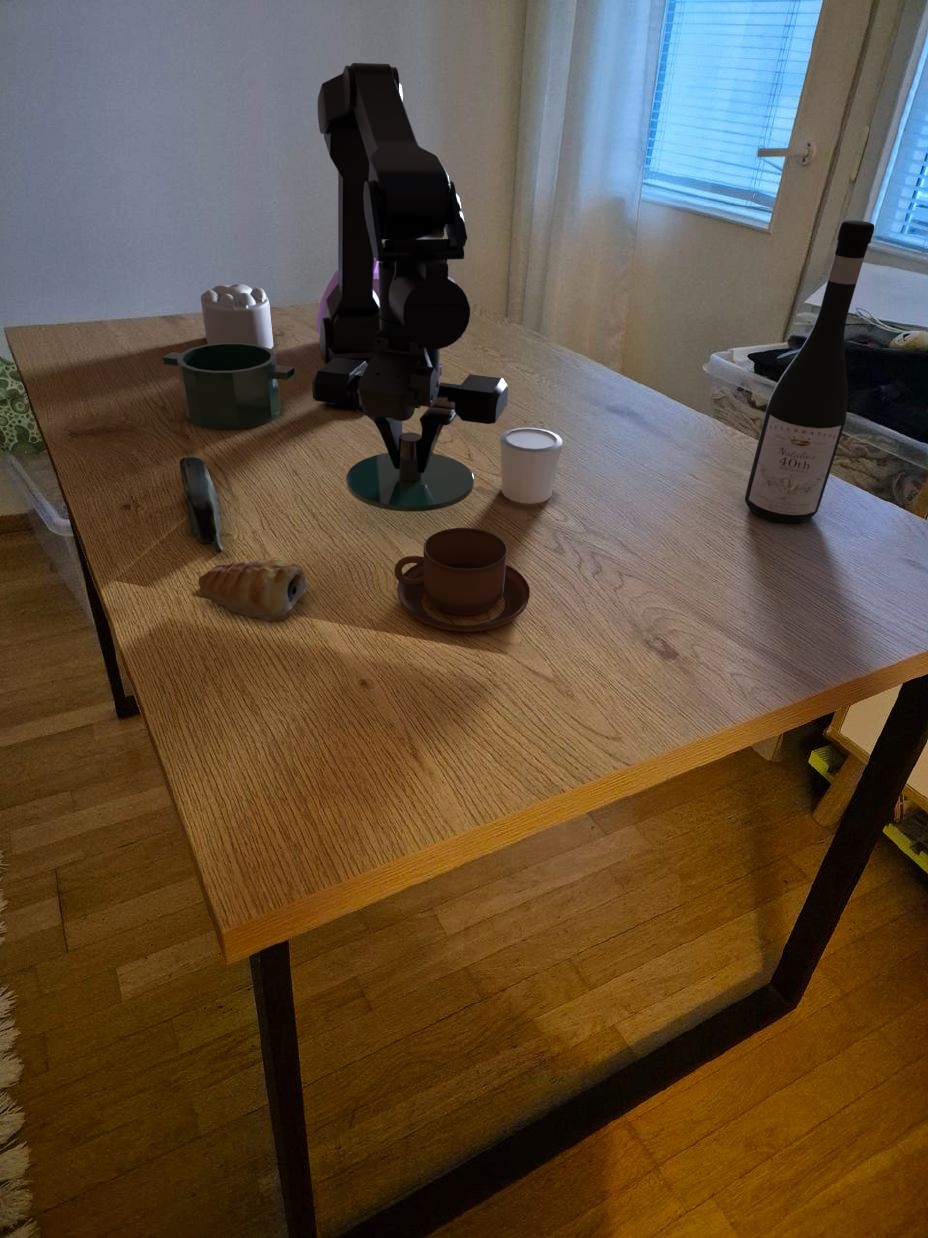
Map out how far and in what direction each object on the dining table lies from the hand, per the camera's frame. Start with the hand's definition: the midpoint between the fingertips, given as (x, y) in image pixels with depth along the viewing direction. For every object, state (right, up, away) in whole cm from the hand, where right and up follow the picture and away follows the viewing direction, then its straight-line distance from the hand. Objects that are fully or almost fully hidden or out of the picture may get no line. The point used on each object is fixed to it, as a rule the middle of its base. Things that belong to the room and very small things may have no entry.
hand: (410, 469), depth 88 cm
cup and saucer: (+5, -15, -11) cm, 19 cm away
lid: (0, -1, +1) cm, 1 cm away
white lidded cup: (+13, -2, +8) cm, 15 cm away
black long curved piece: (-22, -6, +1) cm, 22 cm away
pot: (-26, +12, +26) cm, 39 cm away
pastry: (-13, -14, -11) cm, 22 cm away
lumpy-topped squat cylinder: (-31, +29, +50) cm, 66 cm away
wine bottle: (+41, -3, +8) cm, 42 cm away
